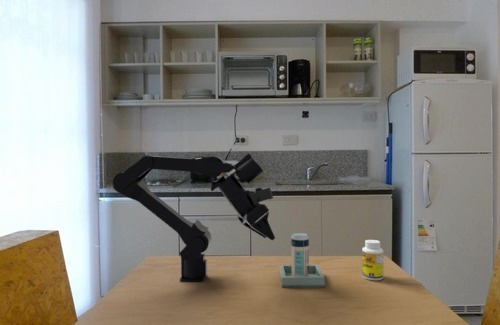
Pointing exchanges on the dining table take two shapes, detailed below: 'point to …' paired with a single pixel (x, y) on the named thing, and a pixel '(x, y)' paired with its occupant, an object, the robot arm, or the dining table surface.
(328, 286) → the dining table surface
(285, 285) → the dish
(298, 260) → the beer can
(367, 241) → the supplement bottle
